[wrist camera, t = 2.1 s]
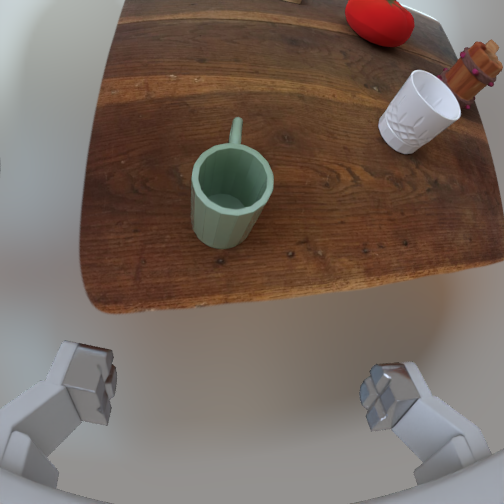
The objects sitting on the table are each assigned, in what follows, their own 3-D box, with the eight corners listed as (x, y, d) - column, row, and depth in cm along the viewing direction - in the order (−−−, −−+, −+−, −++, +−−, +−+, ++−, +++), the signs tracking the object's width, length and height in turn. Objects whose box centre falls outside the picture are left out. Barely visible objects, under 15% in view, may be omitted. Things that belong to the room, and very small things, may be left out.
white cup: (367, 108, 40) (402, 62, 30) (410, 117, 41) (446, 79, 32) (382, 154, 38) (425, 111, 28) (425, 161, 39) (469, 125, 30)
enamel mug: (249, 252, 31) (271, 220, 23) (187, 245, 30) (186, 209, 22) (255, 162, 34) (276, 111, 25) (200, 155, 33) (205, 100, 24)
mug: (456, 123, 44) (509, 77, 30) (423, 90, 44) (471, 38, 30) (470, 96, 49) (512, 56, 34) (442, 68, 49) (481, 25, 35)
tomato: (400, 66, 45) (428, 29, 35) (336, 36, 44) (358, -7, 34) (395, 37, 48) (418, 3, 39) (338, 11, 47) (357, -27, 37)
